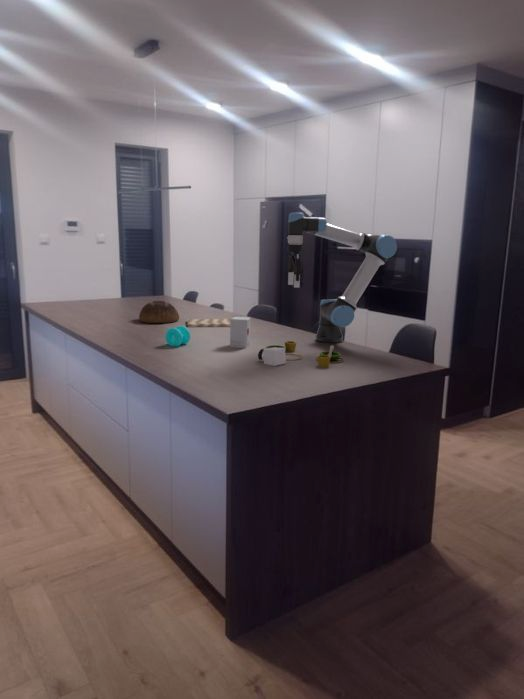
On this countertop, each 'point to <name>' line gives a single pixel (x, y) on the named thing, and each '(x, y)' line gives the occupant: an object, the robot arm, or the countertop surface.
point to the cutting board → (208, 322)
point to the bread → (158, 313)
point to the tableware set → (322, 358)
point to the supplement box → (240, 332)
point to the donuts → (177, 336)
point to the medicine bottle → (272, 356)
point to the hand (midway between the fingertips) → (293, 286)
